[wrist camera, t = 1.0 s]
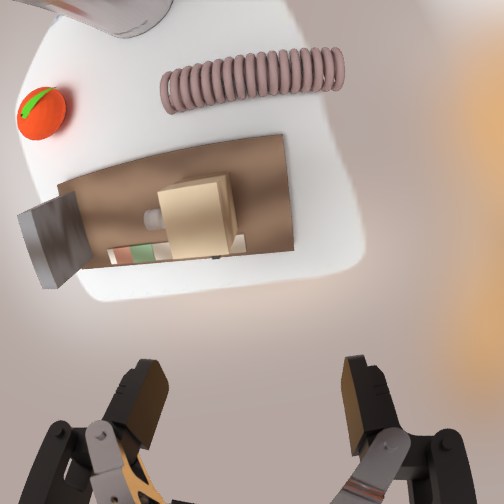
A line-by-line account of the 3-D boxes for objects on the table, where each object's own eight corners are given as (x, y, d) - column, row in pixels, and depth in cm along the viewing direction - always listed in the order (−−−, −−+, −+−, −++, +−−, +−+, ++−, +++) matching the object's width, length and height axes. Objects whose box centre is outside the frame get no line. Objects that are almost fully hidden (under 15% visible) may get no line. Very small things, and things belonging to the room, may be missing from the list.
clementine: (69, 72, 23) (33, 67, 17) (88, 106, 25) (51, 106, 19) (37, 113, 26) (1, 117, 19) (54, 147, 28) (17, 156, 21)
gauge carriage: (154, 184, 27) (126, 198, 21) (228, 171, 26) (216, 182, 20) (171, 257, 30) (151, 284, 25) (241, 251, 29) (233, 279, 24)
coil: (158, 117, 22) (355, 90, 20) (150, 72, 20) (347, 43, 18) (174, 115, 26) (342, 92, 24) (167, 76, 24) (336, 51, 22)
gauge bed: (66, 181, 30) (13, 202, 20) (281, 134, 26) (285, 133, 17) (89, 262, 34) (47, 300, 25) (293, 243, 31) (300, 291, 22)
